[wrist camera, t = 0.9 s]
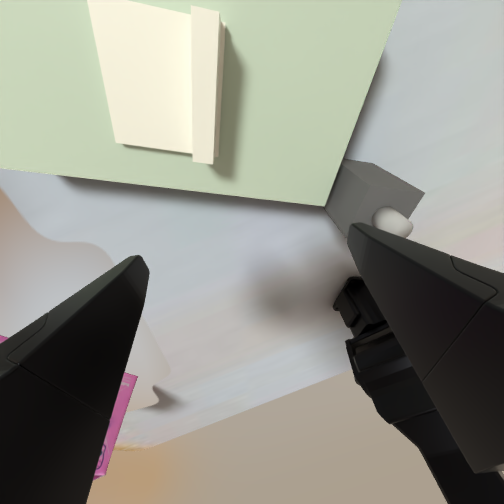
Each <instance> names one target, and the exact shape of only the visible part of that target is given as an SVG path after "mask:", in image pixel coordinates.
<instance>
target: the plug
mask: <svg viewBox="0 0 504 504" xmlns="http://www.w3.org/2000/svg"><path fill="white" fill-rule="evenodd" d="M424 194H425V193H424V192H423V191H421V190H419V189H417V188H416V187H414V186H412V185H410V184H408V183H407V182H405V181H403V180H401V179H400V178H398V177H396V176H394V175H393V174H391V173H389V172H387V171H385V170H384V169H382V168H380V167H378V166H377V165H375V164H373V163H367V162H361V161H354V160H348V159H342V161H341V164H340V167H339V169H338V172H337V175H336V177H335V180H334V183H333V185H332V188H331V191H330V193H329V196H328V199H327V201H326V204H325V206H323V207H324V209H325V210H326V212H327V213H328V214H329V216H330V217H331V218H332V220H333V221H334V223H335V224H336V225H337V227H338V228H339V230H340V231H341V232H342V234H343V235H344V236H345V237H346V238H347V237H348V231H349V226H350V224H351V223H357V222H362V223H365V224H368V225H370V226H373V227H376V228H379V229H381V230H384V231H387V232H389V233H392V234H395V235H398V236H400V237H403V238H406V237H407V236H409V234H410V233H411V232H412V230H413V224H412V222H410V221H409V220H408V219H409V217H410V216H411V214H412V212H413V211H414V209H415V208H416V206H417V205H418V203H419V202H420V200H421V199H422V197H423V195H424Z"/></svg>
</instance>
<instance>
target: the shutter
mask: <svg viewBox="0 0 504 504" xmlns="http://www.w3.org/2000/svg"><path fill="white" fill-rule="evenodd" d="M87 3H88V8H89V13H90V18H91V23H92V28H93V32H94V37H95V42H96V47H97V52H98V57H99V62H100V67H101V72H102V77H103V82H104V87H105V92H106V97H107V102H108V107H109V112H110V117H111V122H112V127H113V132H114V137H115V142H116V143H121V144H128V145H135V146H142V147H149V148H156V149H163V150H170V151H177V152H184V153H192V155H193V162H198V163H206V164H213V162H214V159H215V157H218V156H219V139H220V120H221V102H222V84H223V66H224V48H225V30H226V23H225V22H221V17H220V13H219V12H218V11H214V10H210V9H205V8H201V7H197V6H193V5H191V15H190V14H186V13H182V12H177V11H173V10H168V9H164V8H160V7H155V6H151V5H146V4H142V3H137V2H133V1H129V0H87Z"/></svg>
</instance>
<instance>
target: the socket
mask: <svg viewBox="0 0 504 504" xmlns="http://www.w3.org/2000/svg"><path fill="white" fill-rule="evenodd" d="M129 1H133V2H137V3H142V4H146V5H151V6H155V7H160V8H164V9H168V10H173V11H177V12H182V13H186V14H190V15H191V5H193V6H197V7H201V8H205V9H210V10H214V11H218V12H219V13H220V17H221V22H225V23H226V30H225V48H224V66H223V84H222V102H221V120H220V139H219V156H218V157H215V159H214V162H213V164H206V163H198V162H193V155H192V153H184V152H177V151H170V150H163V149H156V148H149V147H142V146H135V145H128V144H121V143H116V142H115V137H114V132H113V127H112V122H111V117H110V112H109V107H108V102H107V97H106V92H105V87H104V82H103V77H102V72H101V67H100V62H99V57H98V52H97V47H96V42H95V37H94V32H93V28H92V23H91V18H90V13H89V8H88V3H87V0H0V168H2V169H11V170H19V171H28V172H36V173H45V174H53V175H62V176H70V177H79V178H87V179H96V180H104V181H113V182H121V183H130V184H138V185H147V186H155V187H164V188H172V189H181V190H189V191H198V192H206V193H215V194H223V195H232V196H240V197H249V198H257V199H266V200H274V201H283V202H291V203H300V204H308V205H317V206H325V204H326V201H327V199H328V196H329V193H330V191H331V188H332V185H333V183H334V180H335V177H336V175H337V172H338V169H339V167H340V164H341V161H342V159H343V156H344V153H345V151H346V148H347V145H348V143H349V140H350V137H351V135H352V132H353V129H354V127H355V124H356V121H357V119H358V116H359V113H360V111H361V108H362V105H363V103H364V100H365V97H366V95H367V92H368V90H369V87H370V84H371V82H372V79H373V76H374V74H375V71H376V68H377V66H378V63H379V60H380V58H381V55H382V52H383V50H384V47H385V44H386V42H387V39H388V36H389V34H390V31H391V28H392V26H393V23H394V20H395V18H396V15H397V12H398V10H399V7H400V4H401V2H402V0H129Z"/></svg>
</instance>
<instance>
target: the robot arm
mask: <svg viewBox="0 0 504 504" xmlns="http://www.w3.org/2000/svg"><path fill="white" fill-rule="evenodd" d="M347 244H348V247H349V249H350V252H351V254H352V256H353V259H354V261H355V264H356V266H357V268H358V271H359V273H360V275H361V277H350V278H349V279H348V281H347V282H346V284H345V286H344V288H343V289H342V291H341V293H340V295H339V296H338V298H337V300H336V302H335V304H334V305H333V309H334V310H335V311H340V313H341V316H342V318H343V320H344V322H345V324H346V326H347V327H348V328H350V329H351V331H352V333H353V336H354V338H352V339H348V340H346V341H345V343H346V346H347V347H346V349H347V352H348V356H349V359H350V363H351V366H352V370H353V373H354V378H355V381H356V383H357V384H358V385H360V386H361V387H362V388H363V390H364V391H365V393H366V394H367V395H368V396H369V397H370V398H372V400H373V403H374V405H375V407H376V410H377V412H378V413H379V415H380V416H381V417H382V418H383V419H384V420H385V421H386V422H387V423H389V424H392V425H393V426H395V427H396V428H397V429H398V430H399V431H400V432H401V433H402V434H403V435H405V436H406V437H407V438H408V439H409V440H410V441H411V442H412V443H414V444H415V445H416V446H417V447H418V448H419V450H420V452H421V454H422V455H423V457H424V459H425V461H426V463H427V465H428V467H429V469H430V470H431V472H432V474H433V476H434V478H435V480H436V482H437V484H438V486H439V488H440V489H441V491H442V493H443V495H444V497H445V499H446V501H447V503H448V504H504V474H503V473H502V471H504V273H501V272H498V271H495V270H492V269H489V268H486V267H483V266H480V265H477V264H474V263H471V262H469V261H466V260H463V259H460V258H458V257H455V256H450V255H449V254H447V253H444V252H441V251H438V250H436V249H433V248H430V247H427V246H425V245H422V244H419V243H417V242H414V241H411V240H408V239H406V238H403V237H400V236H398V235H395V234H392V233H389V232H387V231H384V230H381V229H379V228H376V227H373V226H370V225H368V224H365V223H362V222H357V223H351V224H350V226H349V231H348V237H347ZM148 280H149V269H148V267H147V265H146V263H145V262H144V260H143V258H142V257H141V256H140V255H135V256H130V257H128V258H126V259H125V260H123V261H122V262H121V263H119V264H118V265H116V266H115V267H113V268H112V269H111V270H109V271H107V272H106V273H105V274H103V275H101V276H100V277H99V278H97V279H96V280H94V281H93V282H91V283H90V284H88V285H87V286H85V287H84V288H82V289H81V290H80V291H78V292H77V293H75V294H74V295H72V296H71V297H69V298H68V299H66V300H65V301H64V302H62V303H60V304H59V305H58V306H56V307H55V308H53V309H52V310H50V311H49V313H46V314H44V315H43V316H41V317H40V318H39V319H37V320H35V321H34V322H33V323H31V324H30V325H28V326H26V327H25V328H24V329H22V330H20V331H19V332H17V333H16V334H14V335H13V336H11V337H10V338H8V339H6V340H5V341H3V342H2V343H0V504H86V502H87V498H88V495H89V492H90V488H91V485H92V481H93V478H94V475H95V471H96V468H97V464H98V461H99V458H100V454H101V451H102V447H103V444H104V441H105V437H106V434H107V430H108V427H109V424H110V419H111V416H112V413H113V409H114V406H115V403H116V399H117V396H118V392H119V389H120V386H121V382H122V379H123V375H124V372H125V368H126V365H127V362H128V358H129V355H130V351H131V348H132V344H133V341H134V338H135V334H136V331H137V327H138V324H139V320H140V317H141V314H142V310H143V307H144V303H145V298H146V292H147V286H148Z"/></svg>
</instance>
